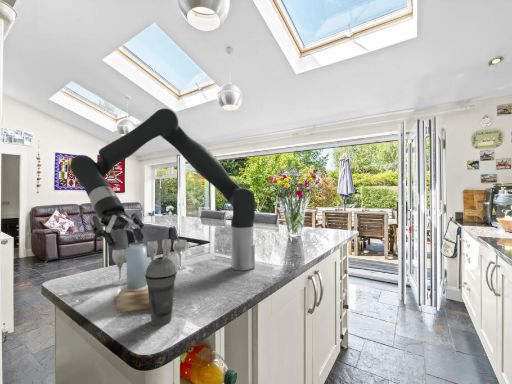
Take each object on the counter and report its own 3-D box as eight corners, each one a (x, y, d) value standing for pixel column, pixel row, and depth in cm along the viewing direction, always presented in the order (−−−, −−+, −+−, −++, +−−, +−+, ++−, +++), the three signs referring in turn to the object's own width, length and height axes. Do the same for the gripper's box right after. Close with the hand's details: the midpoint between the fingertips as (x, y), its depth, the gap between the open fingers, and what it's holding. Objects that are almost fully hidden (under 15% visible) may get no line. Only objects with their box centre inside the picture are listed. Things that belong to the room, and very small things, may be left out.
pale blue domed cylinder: (149, 281, 77) (148, 245, 77) (145, 287, 71) (144, 248, 71) (130, 282, 76) (129, 246, 76) (124, 289, 70) (123, 250, 70)
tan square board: (168, 288, 83) (168, 274, 83) (164, 306, 70) (164, 290, 70) (129, 292, 80) (129, 277, 80) (116, 312, 67) (116, 295, 67)
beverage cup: (151, 314, 65) (150, 237, 65) (180, 313, 66) (179, 236, 66) (140, 329, 58) (140, 242, 58) (172, 328, 58) (172, 242, 59)
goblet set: (114, 286, 85) (114, 247, 85) (110, 282, 89) (110, 244, 90) (190, 269, 104) (189, 236, 104) (183, 266, 109) (183, 235, 109)
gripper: (86, 195, 74) (109, 238, 68) (132, 195, 86) (154, 231, 80) (77, 213, 76) (98, 255, 70) (122, 210, 89) (143, 246, 83)
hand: (128, 242), depth 75 cm, fingers open, 8 cm apart
